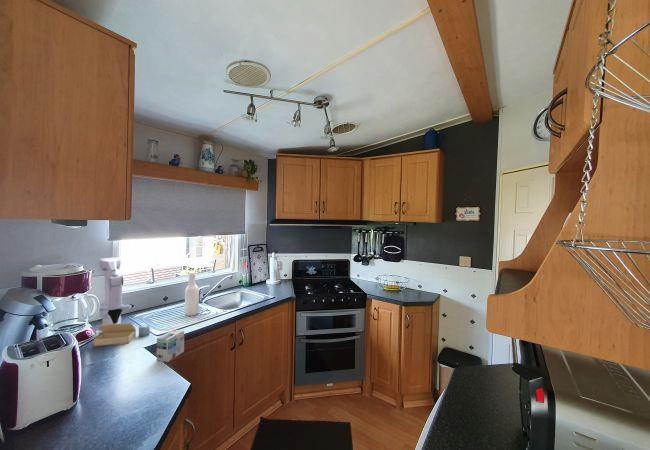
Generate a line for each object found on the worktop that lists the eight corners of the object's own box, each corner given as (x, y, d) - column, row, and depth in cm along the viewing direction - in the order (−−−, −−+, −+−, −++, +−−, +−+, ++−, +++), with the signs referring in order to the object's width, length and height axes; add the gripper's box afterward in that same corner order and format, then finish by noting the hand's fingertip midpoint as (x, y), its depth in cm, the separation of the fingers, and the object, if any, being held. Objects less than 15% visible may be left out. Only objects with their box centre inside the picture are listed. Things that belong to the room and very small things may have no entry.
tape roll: (141, 333, 149) (141, 325, 149) (151, 332, 150) (151, 324, 150) (136, 337, 144) (136, 328, 144) (147, 336, 145) (147, 327, 145)
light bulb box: (167, 362, 119) (167, 339, 118) (155, 360, 120) (155, 338, 120) (184, 351, 129) (184, 330, 129) (173, 349, 130) (173, 329, 130)
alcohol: (193, 311, 187) (193, 270, 187) (201, 312, 184) (201, 271, 183) (182, 314, 179) (182, 272, 179) (190, 316, 176) (190, 274, 175)
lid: (102, 333, 141) (103, 332, 141) (135, 330, 144) (135, 329, 145) (96, 326, 136) (97, 325, 136) (131, 323, 139) (131, 322, 140)
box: (102, 339, 141) (102, 333, 141) (135, 336, 145) (135, 330, 144) (93, 346, 133) (93, 339, 133) (128, 343, 137) (128, 336, 137)
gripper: (95, 301, 133) (95, 326, 133) (126, 299, 136) (126, 324, 136) (103, 297, 140) (103, 321, 140) (133, 295, 143) (133, 319, 143)
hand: (115, 322), depth 139 cm, fingers closed
